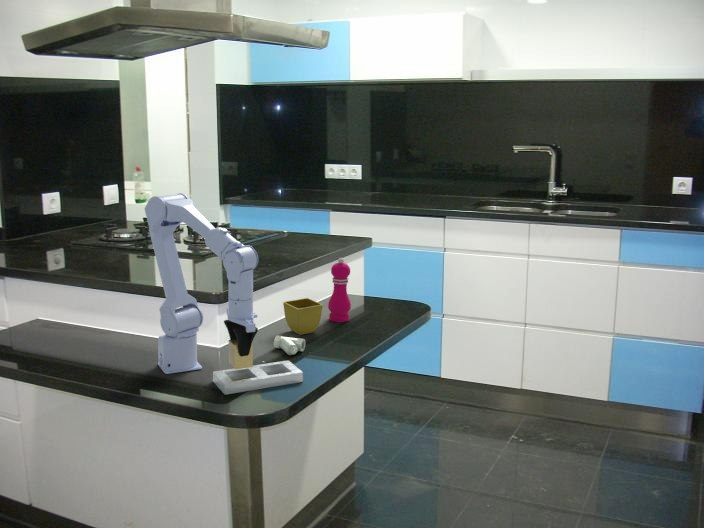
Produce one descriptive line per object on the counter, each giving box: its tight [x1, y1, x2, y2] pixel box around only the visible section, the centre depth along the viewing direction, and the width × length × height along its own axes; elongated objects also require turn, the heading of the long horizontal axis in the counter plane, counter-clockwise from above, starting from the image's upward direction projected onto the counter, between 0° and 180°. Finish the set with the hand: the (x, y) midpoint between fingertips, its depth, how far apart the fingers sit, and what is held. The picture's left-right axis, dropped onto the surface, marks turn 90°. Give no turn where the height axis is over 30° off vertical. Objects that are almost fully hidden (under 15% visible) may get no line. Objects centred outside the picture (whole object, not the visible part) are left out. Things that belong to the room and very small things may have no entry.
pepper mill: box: [327, 257, 352, 323], centre depth 229 cm, size 7×7×20 cm
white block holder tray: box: [212, 360, 304, 395], centre depth 178 cm, size 20×9×2 cm, turn 118°
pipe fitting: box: [273, 335, 306, 356], centre depth 200 cm, size 8×4×7 cm
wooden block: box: [228, 339, 254, 370], centre depth 175 cm, size 4×4×6 cm
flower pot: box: [282, 297, 324, 336], centre depth 216 cm, size 9×9×9 cm
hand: (240, 352), depth 175 cm, fingers closed on wooden block, 4 cm apart
